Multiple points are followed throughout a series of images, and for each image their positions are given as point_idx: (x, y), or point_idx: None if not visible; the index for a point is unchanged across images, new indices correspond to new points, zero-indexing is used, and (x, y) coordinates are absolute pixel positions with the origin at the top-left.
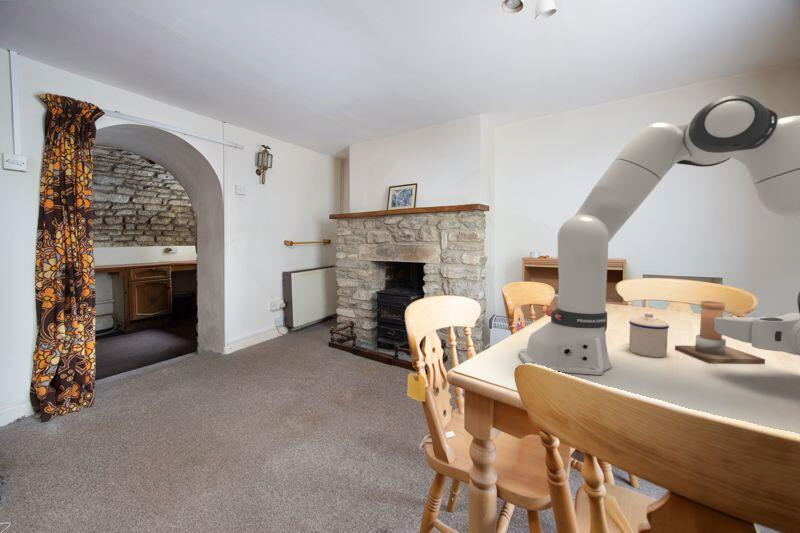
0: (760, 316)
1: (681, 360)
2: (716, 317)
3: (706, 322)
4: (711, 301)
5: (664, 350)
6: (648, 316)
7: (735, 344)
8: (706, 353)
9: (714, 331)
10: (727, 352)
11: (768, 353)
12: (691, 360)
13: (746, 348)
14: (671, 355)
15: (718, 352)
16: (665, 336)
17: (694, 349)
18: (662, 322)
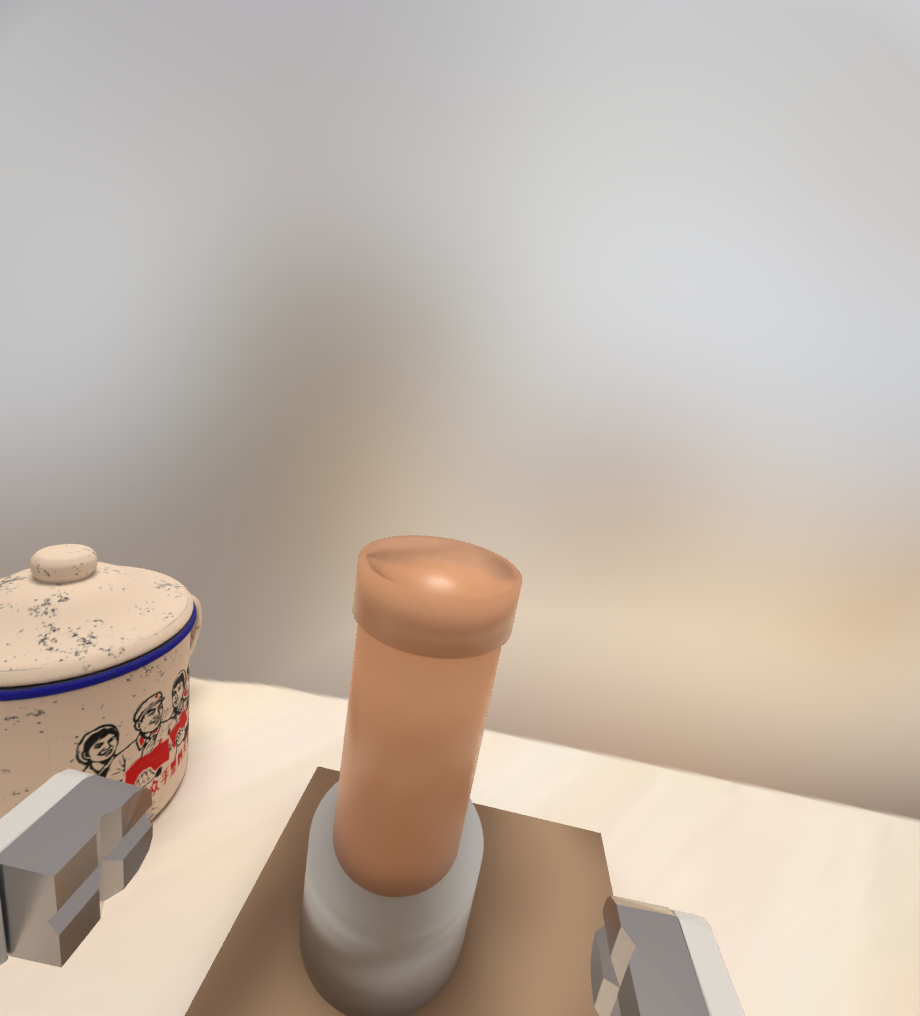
0: (707, 947)
1: (36, 981)
2: (32, 797)
3: (347, 721)
4: (483, 552)
5: None
6: (32, 573)
7: (719, 799)
8: (302, 949)
9: (363, 820)
10: (500, 955)
11: (838, 976)
12: (115, 1001)
13: (742, 861)
14: (143, 864)
15: (348, 996)
16: (16, 755)
17: None
18: (46, 641)
